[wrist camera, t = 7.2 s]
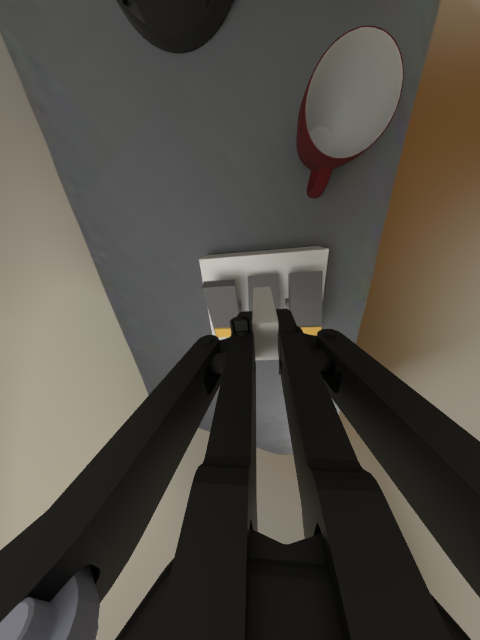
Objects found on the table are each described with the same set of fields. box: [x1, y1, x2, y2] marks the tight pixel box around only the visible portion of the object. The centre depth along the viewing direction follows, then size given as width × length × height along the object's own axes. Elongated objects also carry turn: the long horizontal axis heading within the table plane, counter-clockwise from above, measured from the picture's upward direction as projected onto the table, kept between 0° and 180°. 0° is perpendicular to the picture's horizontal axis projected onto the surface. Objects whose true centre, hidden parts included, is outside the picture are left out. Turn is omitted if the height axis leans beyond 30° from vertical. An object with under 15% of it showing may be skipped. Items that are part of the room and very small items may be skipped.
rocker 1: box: [202, 279, 240, 337], centre depth 28 cm, size 10×4×2 cm, turn 5°
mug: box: [297, 26, 404, 198], centre depth 21 cm, size 11×8×10 cm
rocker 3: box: [288, 271, 323, 336], centre depth 27 cm, size 10×4×2 cm, turn 5°
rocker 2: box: [248, 274, 279, 311], centre depth 27 cm, size 10×4×2 cm, turn 5°
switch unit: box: [199, 246, 329, 340], centre depth 31 cm, size 15×19×7 cm
